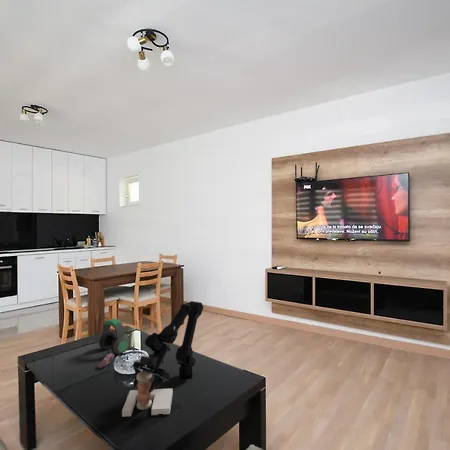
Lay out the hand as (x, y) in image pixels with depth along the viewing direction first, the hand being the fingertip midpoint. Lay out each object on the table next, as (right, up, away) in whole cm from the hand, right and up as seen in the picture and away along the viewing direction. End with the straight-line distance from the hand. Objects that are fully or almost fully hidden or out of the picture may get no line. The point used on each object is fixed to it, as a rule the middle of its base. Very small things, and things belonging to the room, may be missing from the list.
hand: (141, 389), depth 143 cm
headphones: (-33, -7, +60) cm, 69 cm away
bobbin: (+1, -8, +2) cm, 8 cm away
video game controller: (-31, -7, +42) cm, 52 cm away
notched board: (+3, -8, +3) cm, 9 cm away
